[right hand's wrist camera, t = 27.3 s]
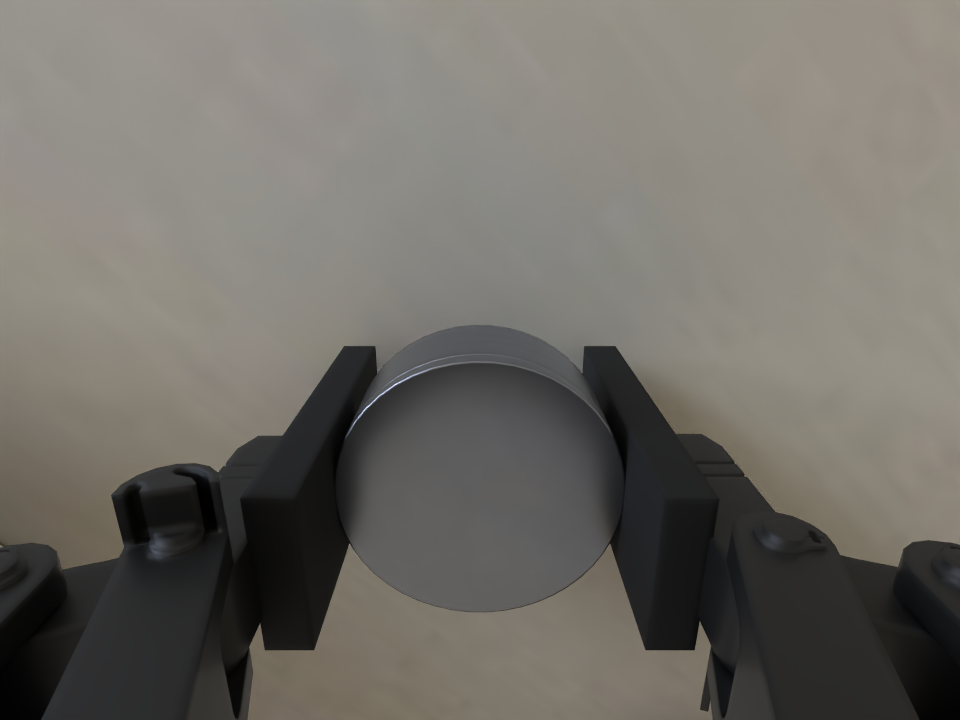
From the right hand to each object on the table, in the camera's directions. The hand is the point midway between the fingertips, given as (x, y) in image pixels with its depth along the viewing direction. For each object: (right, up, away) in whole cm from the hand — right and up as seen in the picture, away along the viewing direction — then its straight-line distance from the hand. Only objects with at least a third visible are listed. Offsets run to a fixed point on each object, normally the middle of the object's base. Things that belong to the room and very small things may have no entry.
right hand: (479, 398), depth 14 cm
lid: (0, -1, -4) cm, 4 cm away
